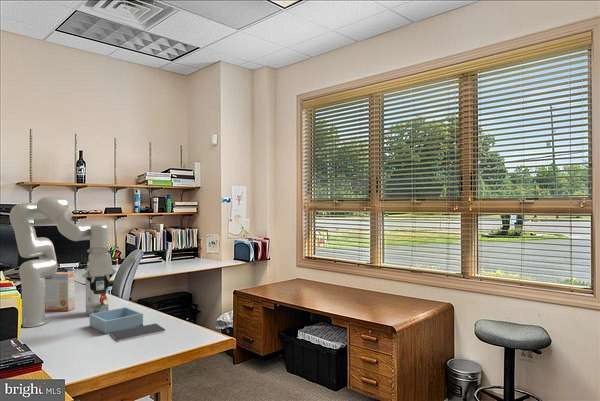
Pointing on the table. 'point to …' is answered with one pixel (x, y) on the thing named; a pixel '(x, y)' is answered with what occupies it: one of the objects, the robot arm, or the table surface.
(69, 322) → the table surface
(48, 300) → the cracker box
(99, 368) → the table surface
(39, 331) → the table surface
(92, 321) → the bin
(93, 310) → the juice carton
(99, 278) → the ink cartridge
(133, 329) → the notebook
